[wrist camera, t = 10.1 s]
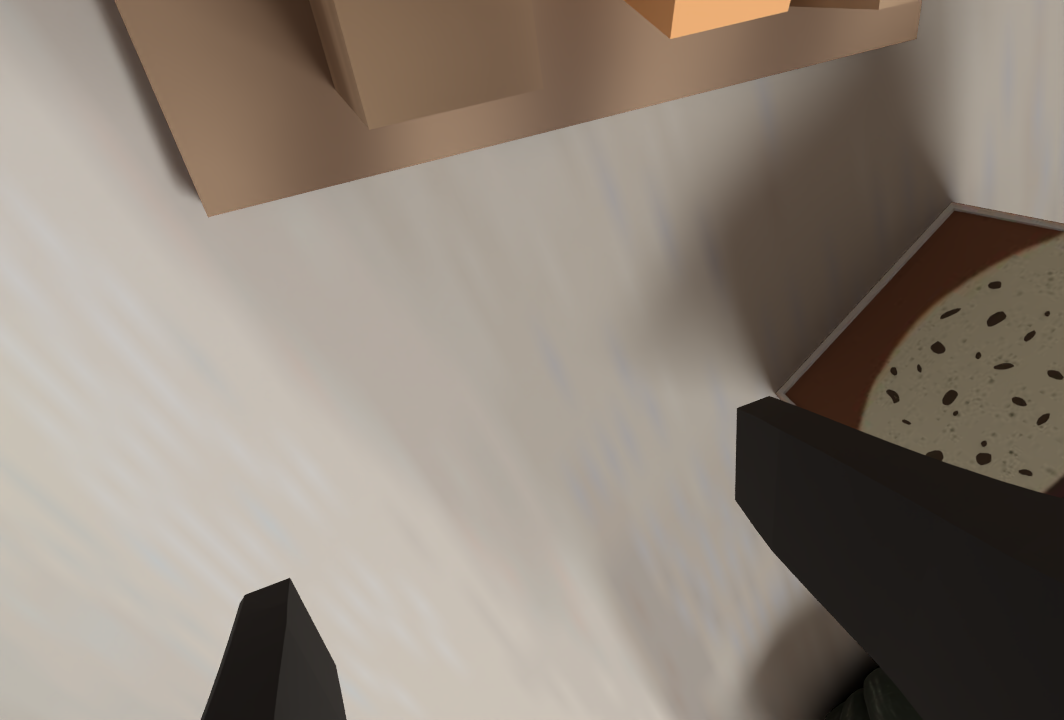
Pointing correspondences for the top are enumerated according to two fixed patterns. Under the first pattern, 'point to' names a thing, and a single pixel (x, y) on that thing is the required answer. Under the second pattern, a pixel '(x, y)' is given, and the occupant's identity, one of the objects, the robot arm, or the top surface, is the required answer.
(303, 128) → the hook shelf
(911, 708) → the squash
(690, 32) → the orange step-cut beam
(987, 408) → the food container
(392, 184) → the top surface
